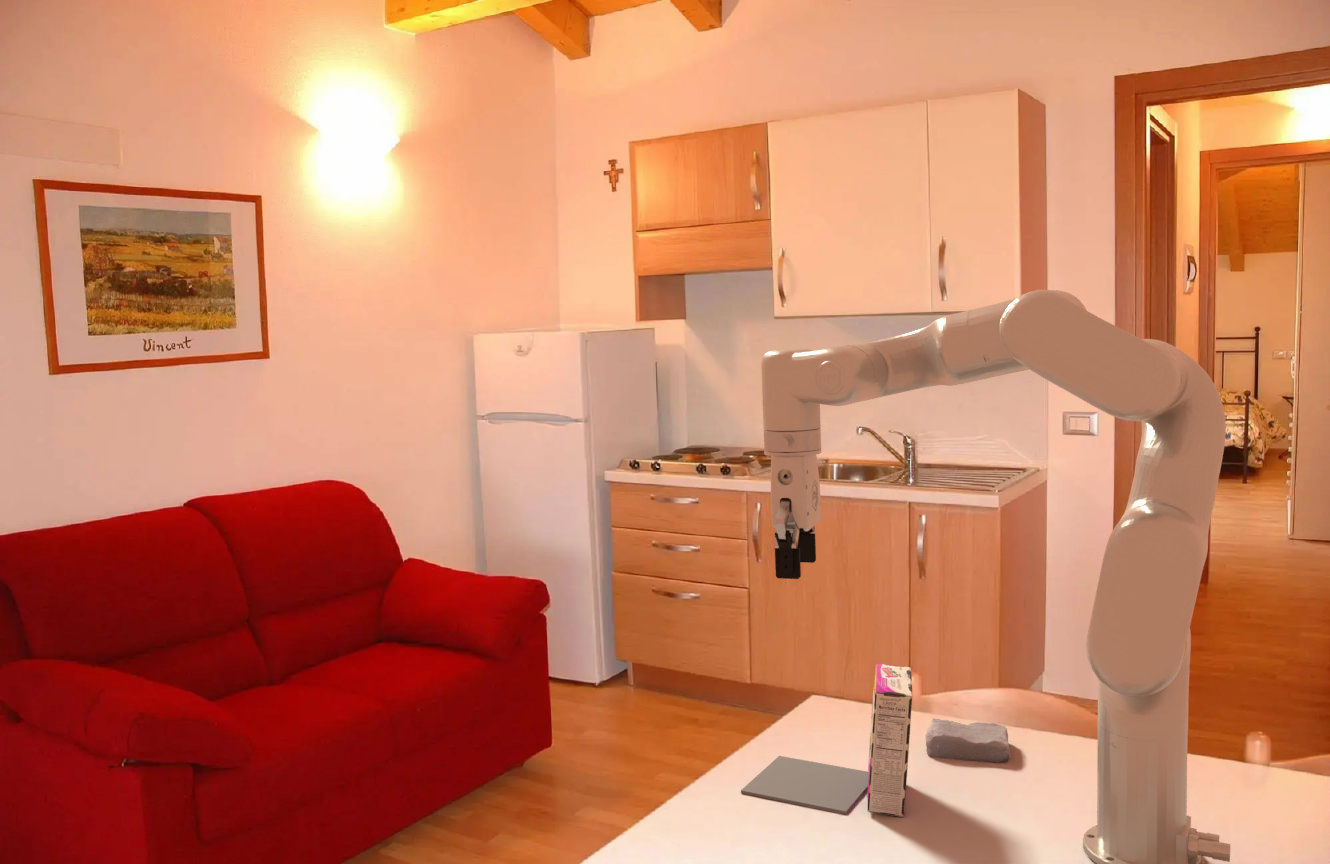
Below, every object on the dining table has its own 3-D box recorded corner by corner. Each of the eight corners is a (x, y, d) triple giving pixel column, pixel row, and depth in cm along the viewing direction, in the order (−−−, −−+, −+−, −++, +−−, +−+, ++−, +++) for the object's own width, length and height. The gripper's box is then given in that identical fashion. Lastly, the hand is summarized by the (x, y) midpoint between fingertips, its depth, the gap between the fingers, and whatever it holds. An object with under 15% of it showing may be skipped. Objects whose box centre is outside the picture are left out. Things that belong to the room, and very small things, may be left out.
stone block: (927, 746, 165) (923, 758, 155) (928, 714, 165) (925, 725, 156) (1009, 755, 161) (1010, 769, 152) (1010, 723, 162) (1011, 734, 152)
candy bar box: (866, 776, 149) (875, 662, 147) (903, 781, 148) (912, 666, 146) (864, 813, 138) (874, 690, 136) (904, 819, 137) (914, 695, 135)
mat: (878, 776, 150) (878, 773, 150) (846, 814, 139) (846, 811, 139) (779, 758, 157) (779, 755, 157) (740, 793, 146) (740, 790, 146)
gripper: (806, 450, 133) (810, 586, 135) (832, 435, 149) (836, 557, 151) (748, 450, 135) (752, 584, 137) (779, 436, 152) (783, 555, 153)
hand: (796, 569), depth 144 cm, fingers open, 9 cm apart
